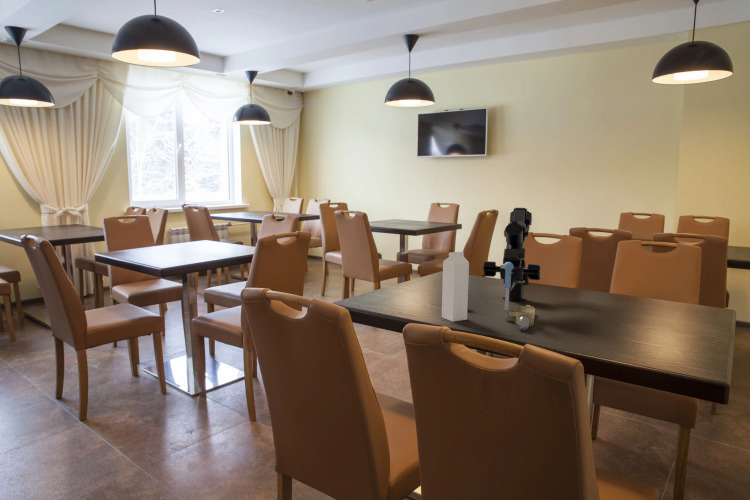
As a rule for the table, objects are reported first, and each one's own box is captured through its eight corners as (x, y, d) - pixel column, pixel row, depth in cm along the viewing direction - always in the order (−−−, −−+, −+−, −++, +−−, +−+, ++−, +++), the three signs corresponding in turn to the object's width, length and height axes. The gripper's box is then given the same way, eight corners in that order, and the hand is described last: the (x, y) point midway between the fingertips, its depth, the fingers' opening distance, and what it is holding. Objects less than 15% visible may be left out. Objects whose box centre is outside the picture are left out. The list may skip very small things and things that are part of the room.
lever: (502, 314, 164) (504, 260, 162) (511, 315, 163) (514, 261, 161) (500, 316, 161) (503, 262, 159) (510, 317, 160) (513, 262, 158)
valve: (512, 312, 172) (512, 300, 172) (535, 314, 170) (536, 302, 169) (505, 329, 152) (505, 315, 151) (531, 332, 149) (532, 318, 149)
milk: (467, 319, 163) (470, 252, 160) (452, 321, 160) (455, 253, 157) (455, 315, 168) (458, 250, 165) (440, 317, 165) (443, 251, 162)
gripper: (485, 238, 172) (478, 274, 164) (541, 240, 166) (538, 279, 157) (487, 257, 181) (481, 293, 172) (541, 260, 174) (538, 298, 165)
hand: (508, 290), depth 166 cm, fingers closed
